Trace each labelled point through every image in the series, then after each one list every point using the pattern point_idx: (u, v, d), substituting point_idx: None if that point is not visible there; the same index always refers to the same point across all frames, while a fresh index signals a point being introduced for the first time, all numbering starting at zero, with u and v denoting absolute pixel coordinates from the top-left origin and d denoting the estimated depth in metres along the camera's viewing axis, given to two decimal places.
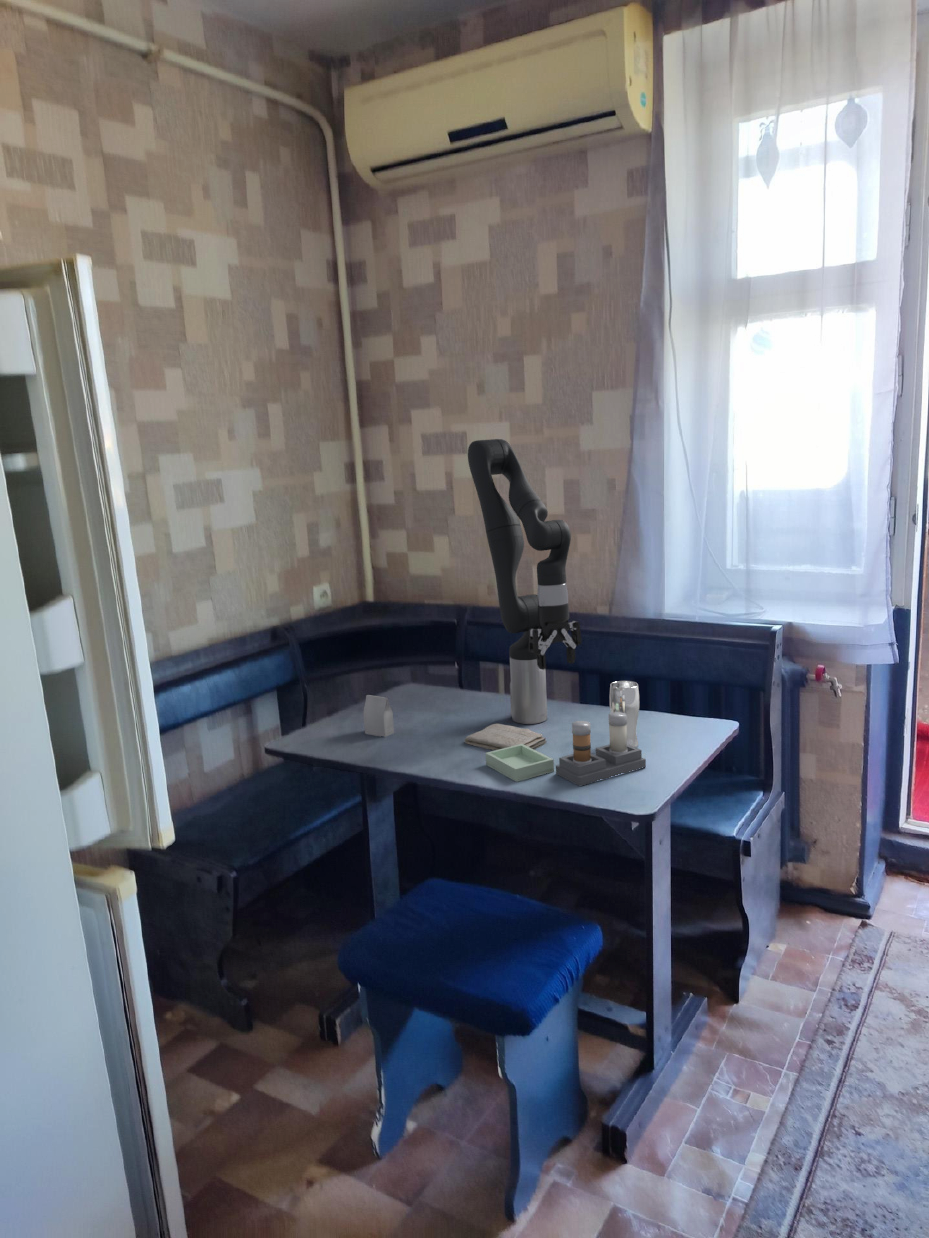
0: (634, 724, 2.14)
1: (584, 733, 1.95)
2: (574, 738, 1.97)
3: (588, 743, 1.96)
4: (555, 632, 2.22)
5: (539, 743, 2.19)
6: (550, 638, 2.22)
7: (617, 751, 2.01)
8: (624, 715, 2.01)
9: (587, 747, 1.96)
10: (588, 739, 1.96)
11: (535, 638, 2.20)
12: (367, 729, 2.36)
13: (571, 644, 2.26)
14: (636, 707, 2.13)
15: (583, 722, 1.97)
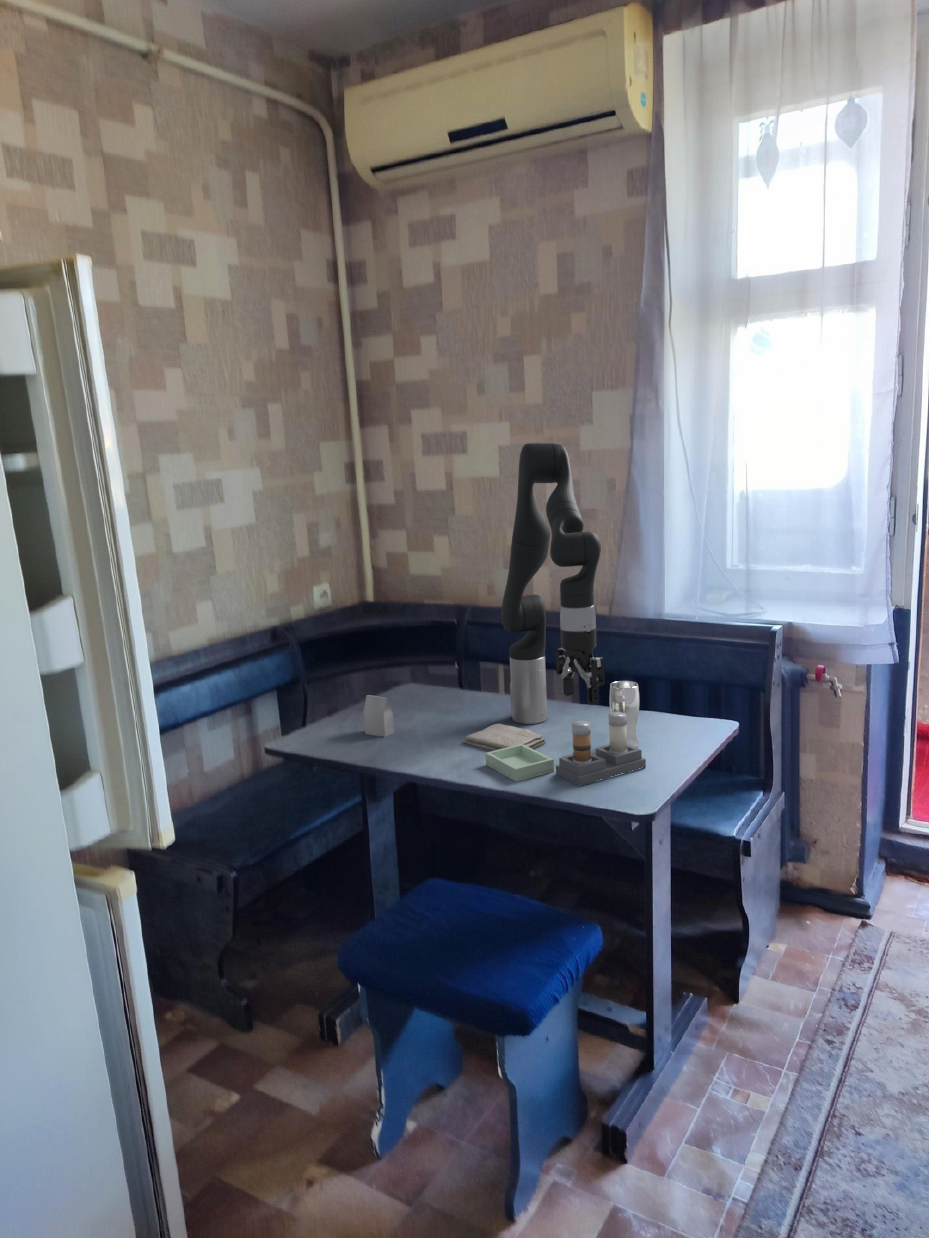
0: (634, 724, 2.14)
1: (584, 733, 1.95)
2: (574, 738, 1.97)
3: (588, 743, 1.96)
4: None
5: (538, 744, 2.19)
6: None
7: (617, 751, 2.01)
8: (624, 715, 2.01)
9: (587, 747, 1.96)
10: (588, 739, 1.96)
11: None
12: (367, 729, 2.36)
13: None
14: (636, 707, 2.13)
15: (583, 722, 1.97)
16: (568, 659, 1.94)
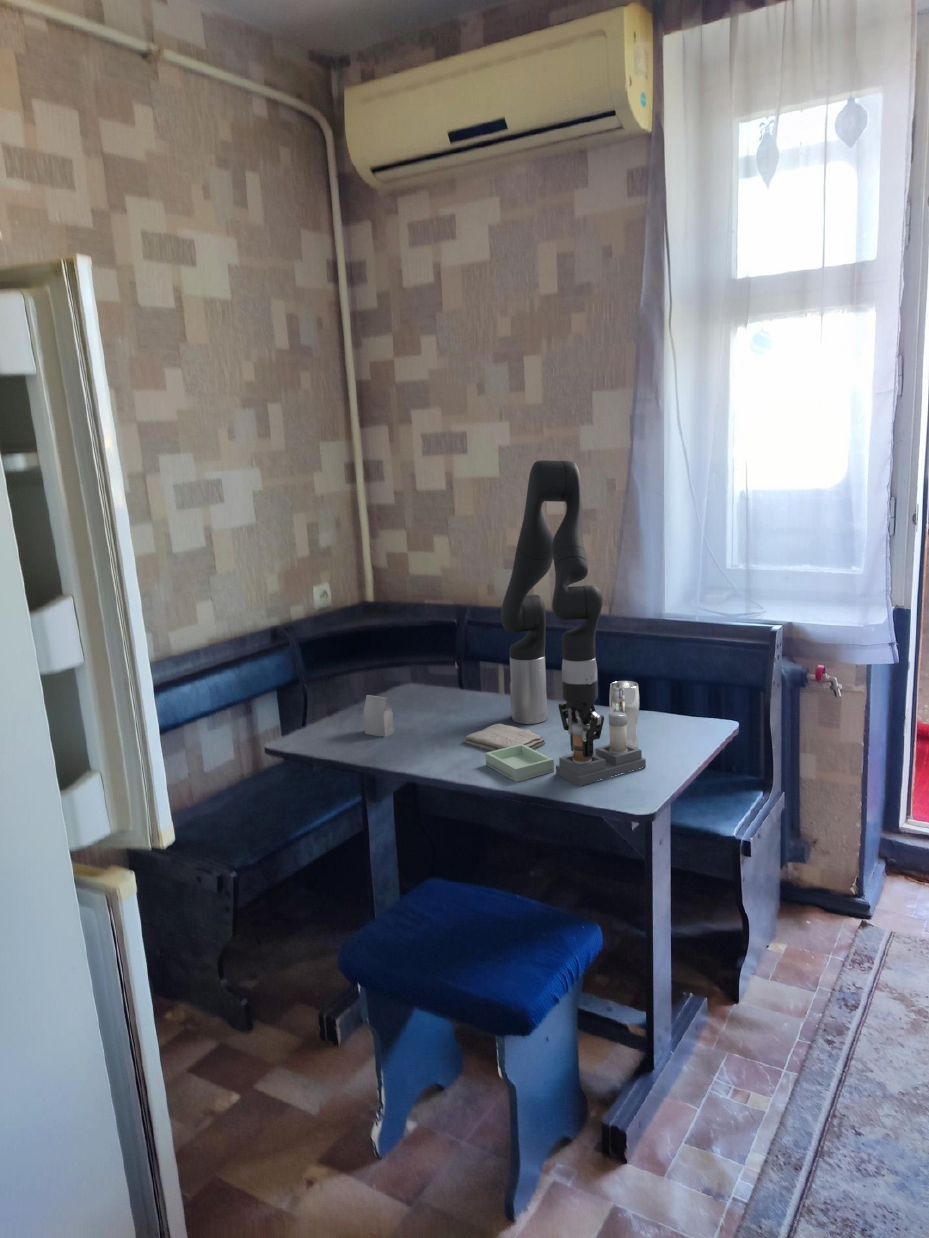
0: (634, 724, 2.14)
1: None
2: (574, 738, 1.97)
3: None
4: None
5: (537, 745, 2.18)
6: None
7: (617, 751, 2.01)
8: (624, 715, 2.01)
9: None
10: None
11: None
12: (367, 729, 2.36)
13: None
14: (636, 707, 2.13)
15: None
16: (570, 710, 1.96)
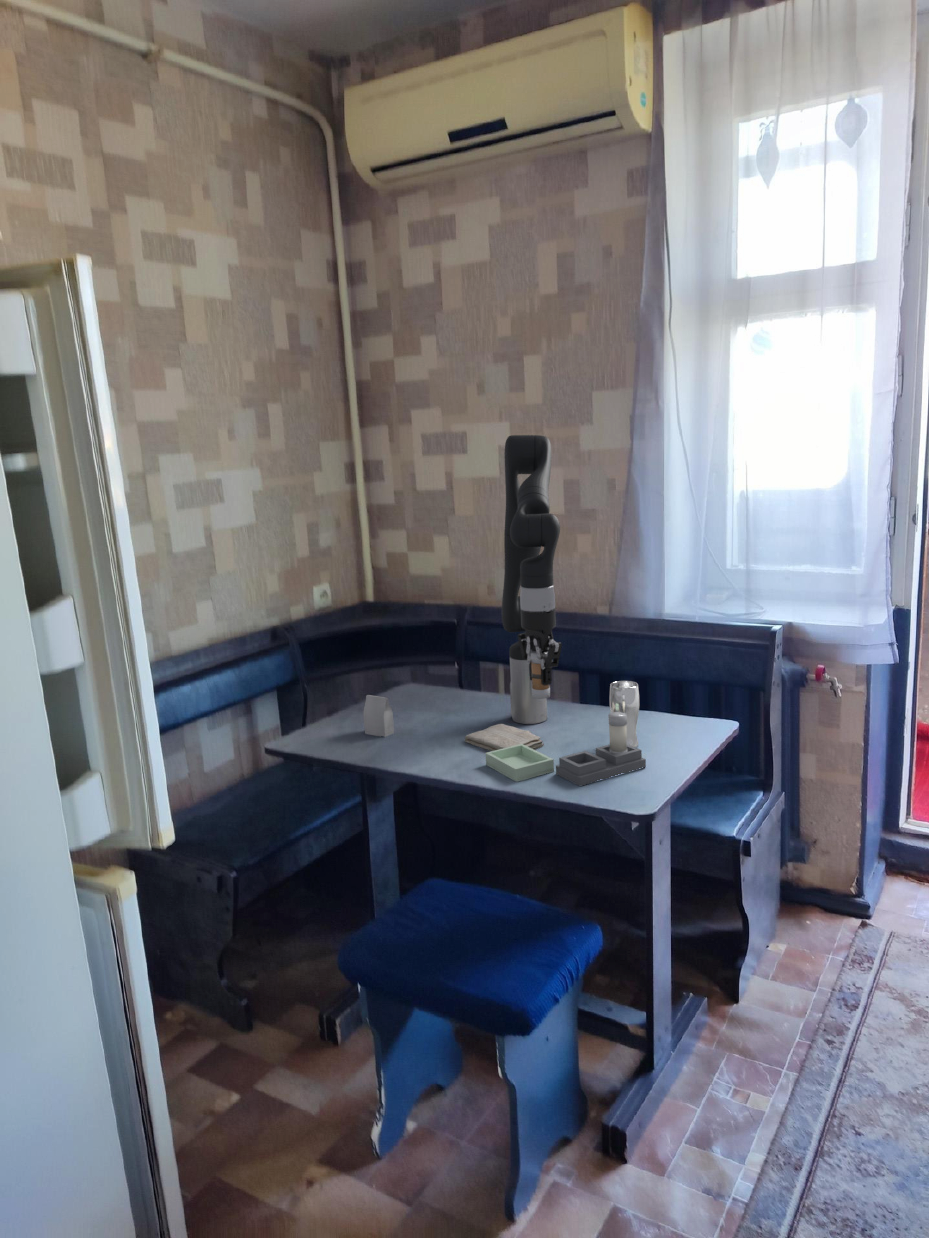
0: (634, 724, 2.14)
1: None
2: (533, 666, 1.98)
3: None
4: None
5: (535, 746, 2.18)
6: None
7: (617, 751, 2.01)
8: (624, 715, 2.01)
9: None
10: None
11: None
12: (367, 729, 2.36)
13: None
14: (636, 707, 2.13)
15: None
16: (528, 639, 1.98)
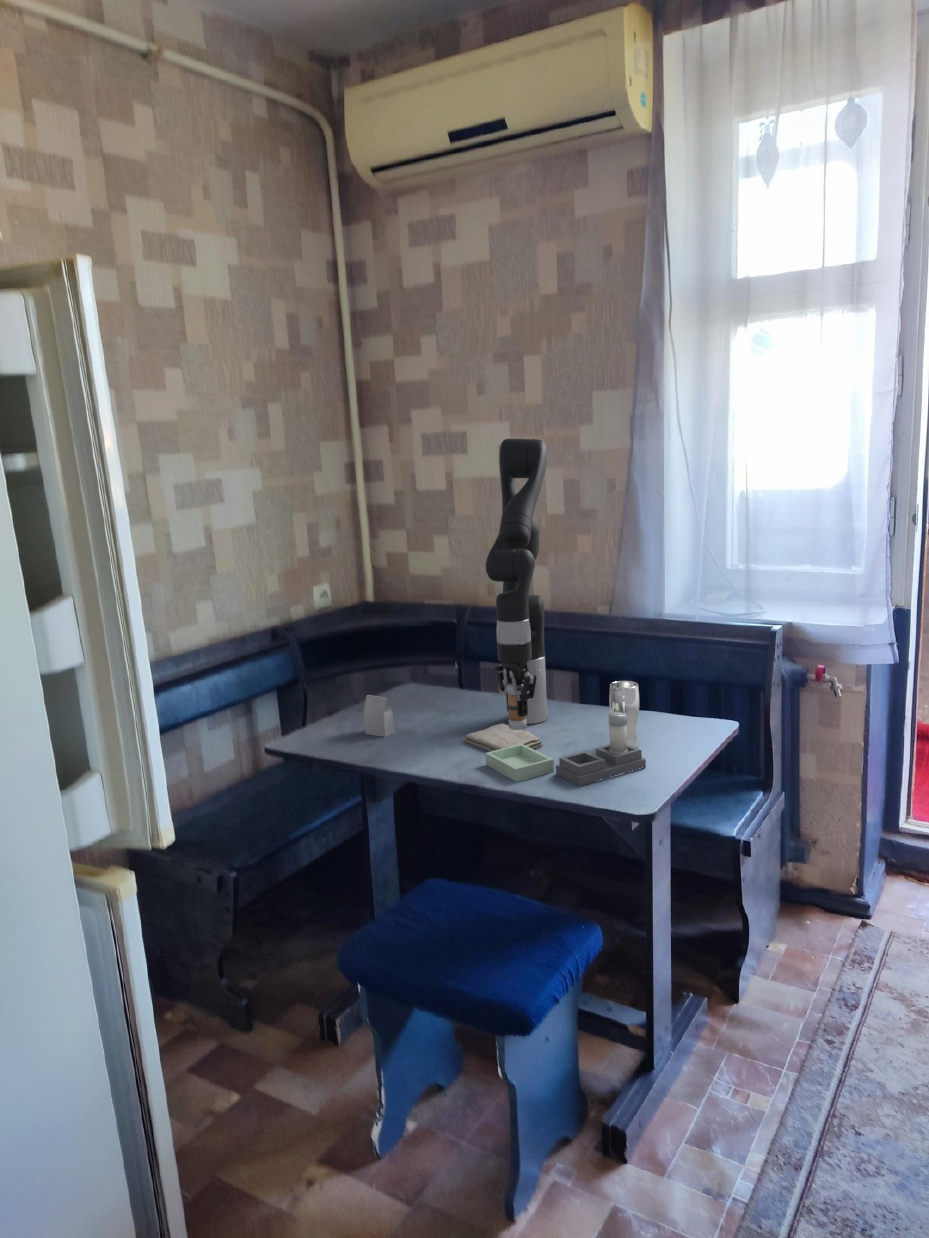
0: (634, 724, 2.14)
1: None
2: (509, 698, 2.02)
3: None
4: None
5: (533, 746, 2.17)
6: None
7: (617, 751, 2.01)
8: (624, 715, 2.01)
9: None
10: None
11: None
12: (367, 729, 2.36)
13: None
14: (636, 707, 2.13)
15: None
16: (505, 671, 2.02)
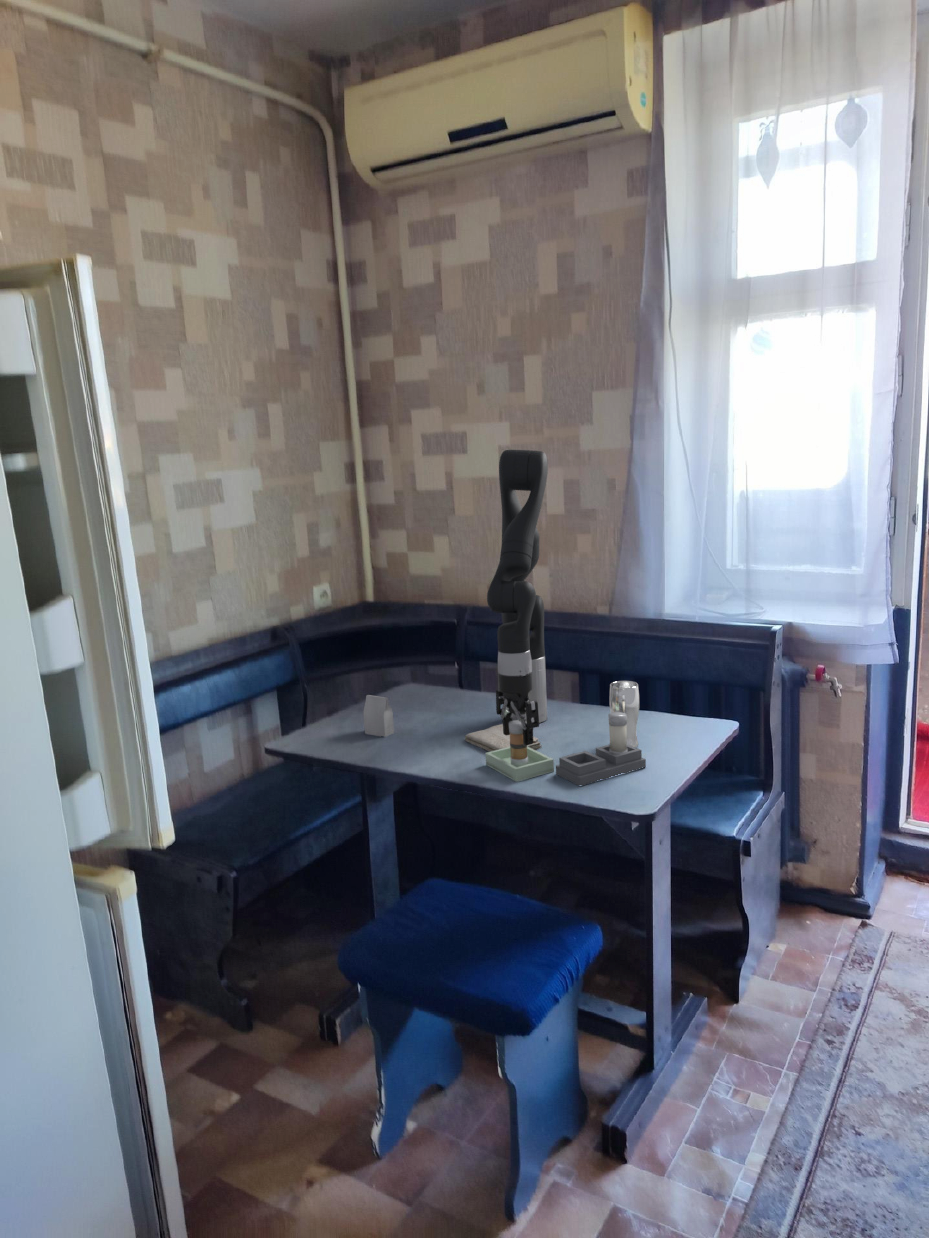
0: (634, 724, 2.14)
1: (519, 731, 2.02)
2: (511, 737, 2.03)
3: None
4: None
5: (532, 747, 2.17)
6: None
7: (617, 751, 2.01)
8: (624, 715, 2.01)
9: (523, 745, 2.03)
10: None
11: None
12: (367, 729, 2.36)
13: None
14: (636, 707, 2.13)
15: None
16: (506, 701, 2.03)
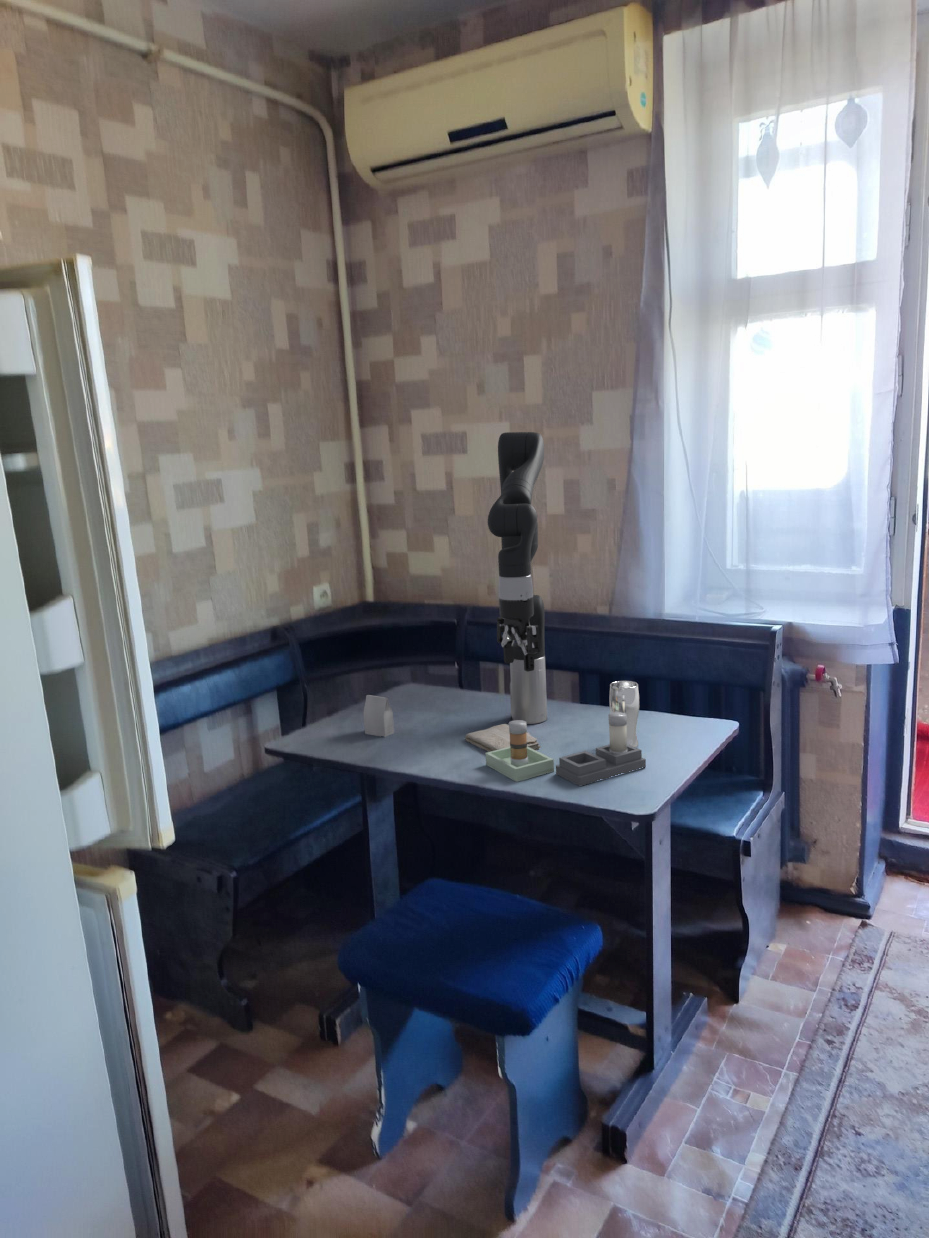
0: (634, 724, 2.14)
1: (519, 731, 2.02)
2: (511, 737, 2.03)
3: (524, 741, 2.03)
4: None
5: None
6: None
7: (617, 751, 2.01)
8: (624, 715, 2.01)
9: (523, 745, 2.03)
10: (524, 738, 2.03)
11: None
12: (367, 729, 2.36)
13: None
14: (636, 707, 2.13)
15: (520, 721, 2.04)
16: (507, 628, 2.00)
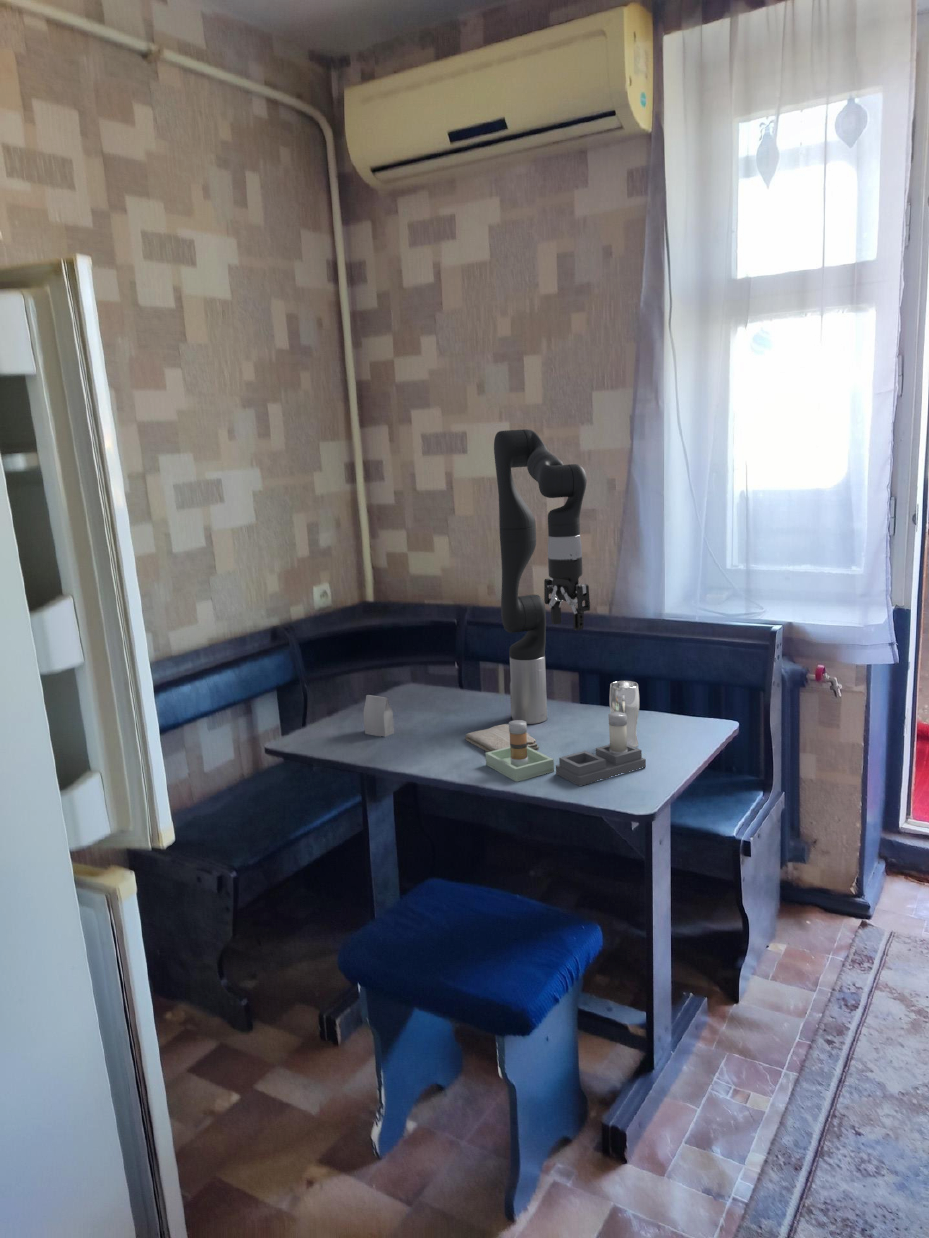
0: (634, 724, 2.14)
1: (519, 731, 2.02)
2: (511, 737, 2.03)
3: (524, 741, 2.03)
4: None
5: None
6: None
7: (617, 751, 2.01)
8: (624, 715, 2.01)
9: (523, 745, 2.03)
10: (524, 738, 2.03)
11: None
12: (367, 729, 2.36)
13: None
14: (636, 707, 2.13)
15: (520, 721, 2.04)
16: (555, 588, 2.03)
